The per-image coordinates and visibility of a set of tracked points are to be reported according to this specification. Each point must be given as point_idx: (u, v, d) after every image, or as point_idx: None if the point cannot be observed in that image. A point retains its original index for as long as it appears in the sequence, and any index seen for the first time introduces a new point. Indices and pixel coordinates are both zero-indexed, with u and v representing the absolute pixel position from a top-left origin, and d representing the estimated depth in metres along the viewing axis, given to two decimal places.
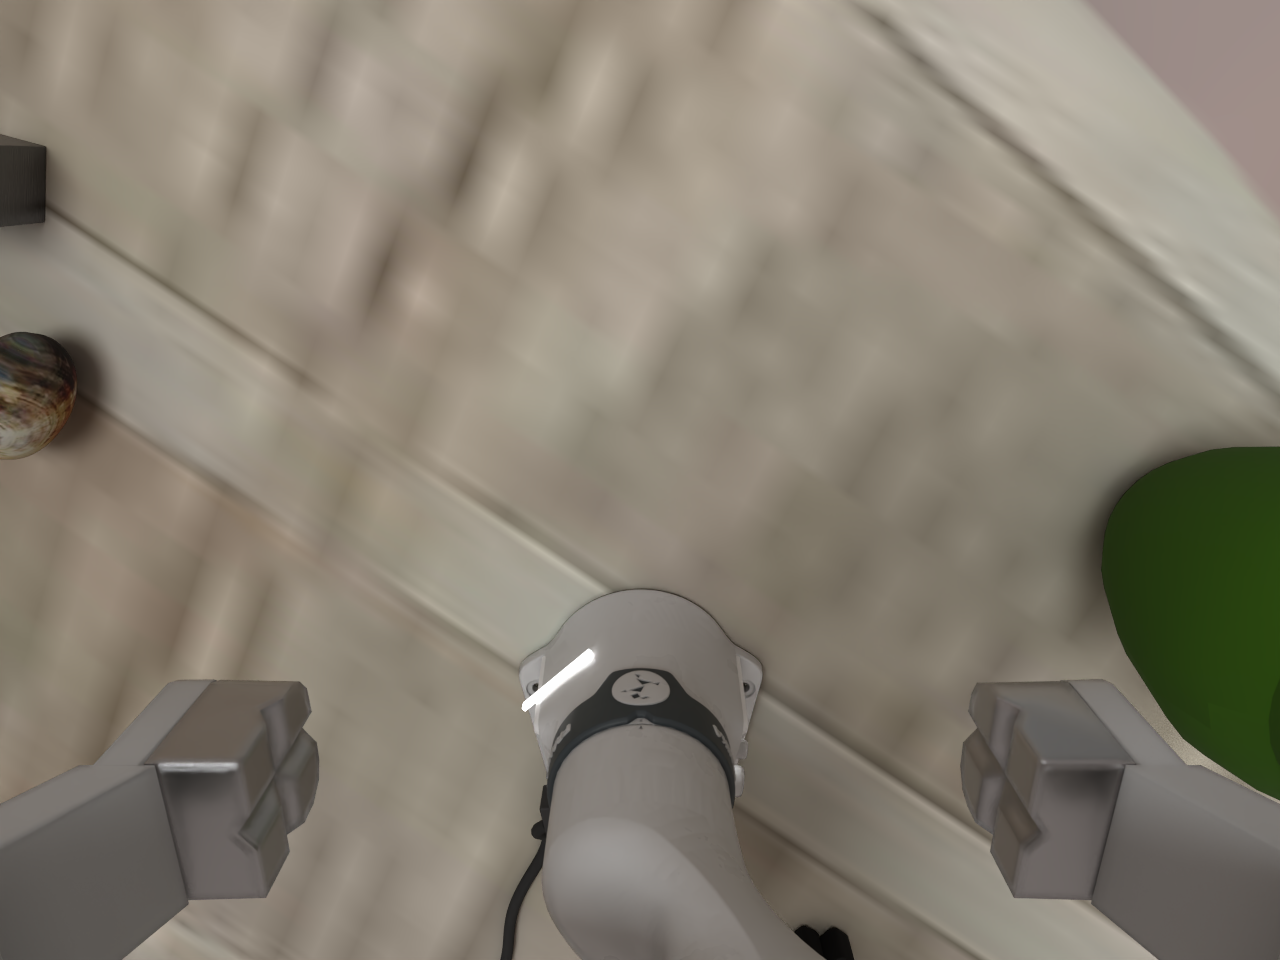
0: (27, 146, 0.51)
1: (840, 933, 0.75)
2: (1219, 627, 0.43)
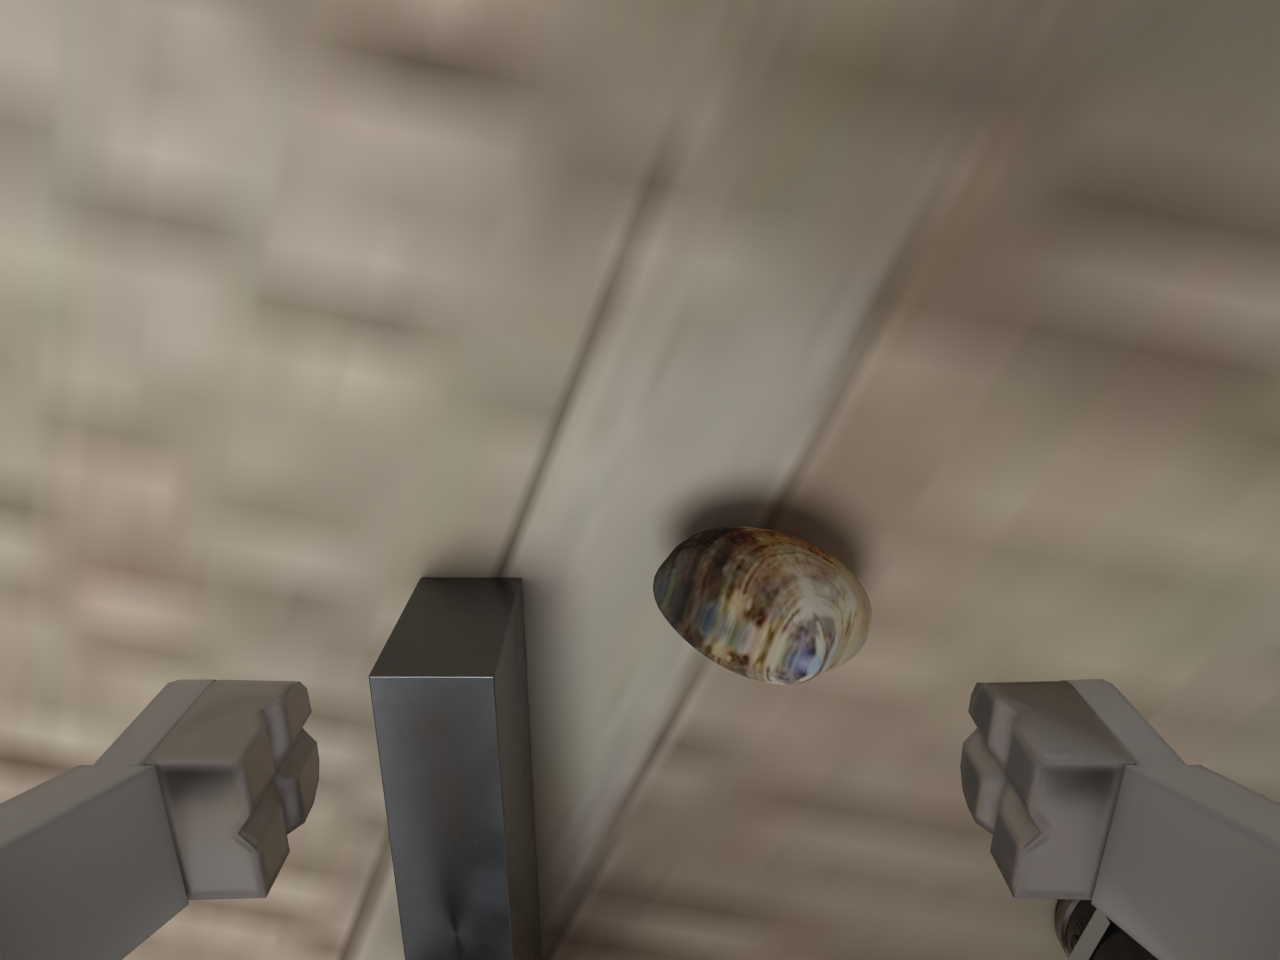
0: (412, 595, 0.38)
1: None
2: None
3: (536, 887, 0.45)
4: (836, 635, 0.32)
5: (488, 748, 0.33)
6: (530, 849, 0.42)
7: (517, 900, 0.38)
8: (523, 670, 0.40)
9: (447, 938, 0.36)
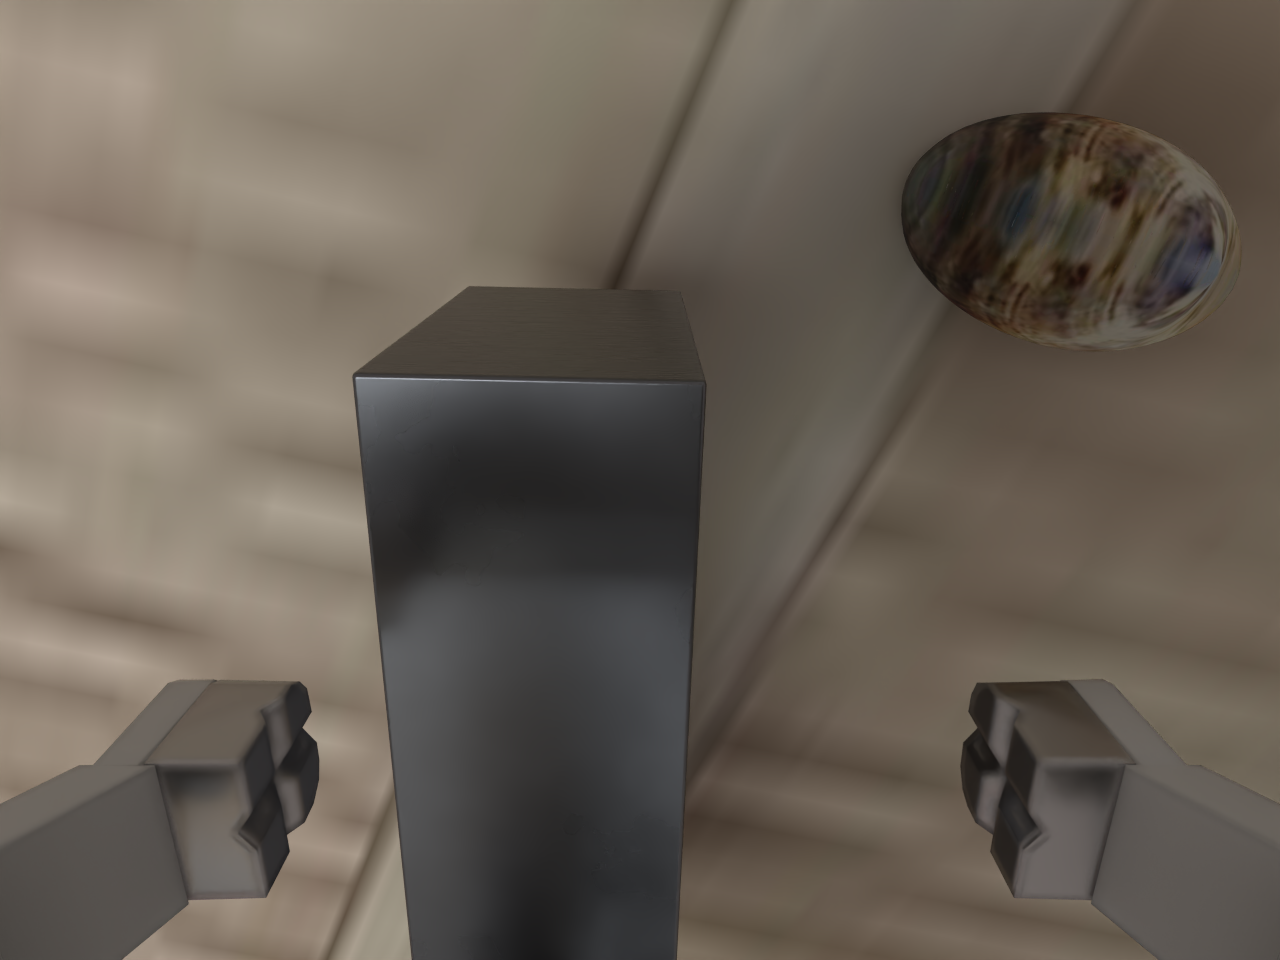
0: None
1: None
2: None
3: None
4: (1227, 240, 0.20)
5: (668, 599, 0.12)
6: None
7: None
8: None
9: None
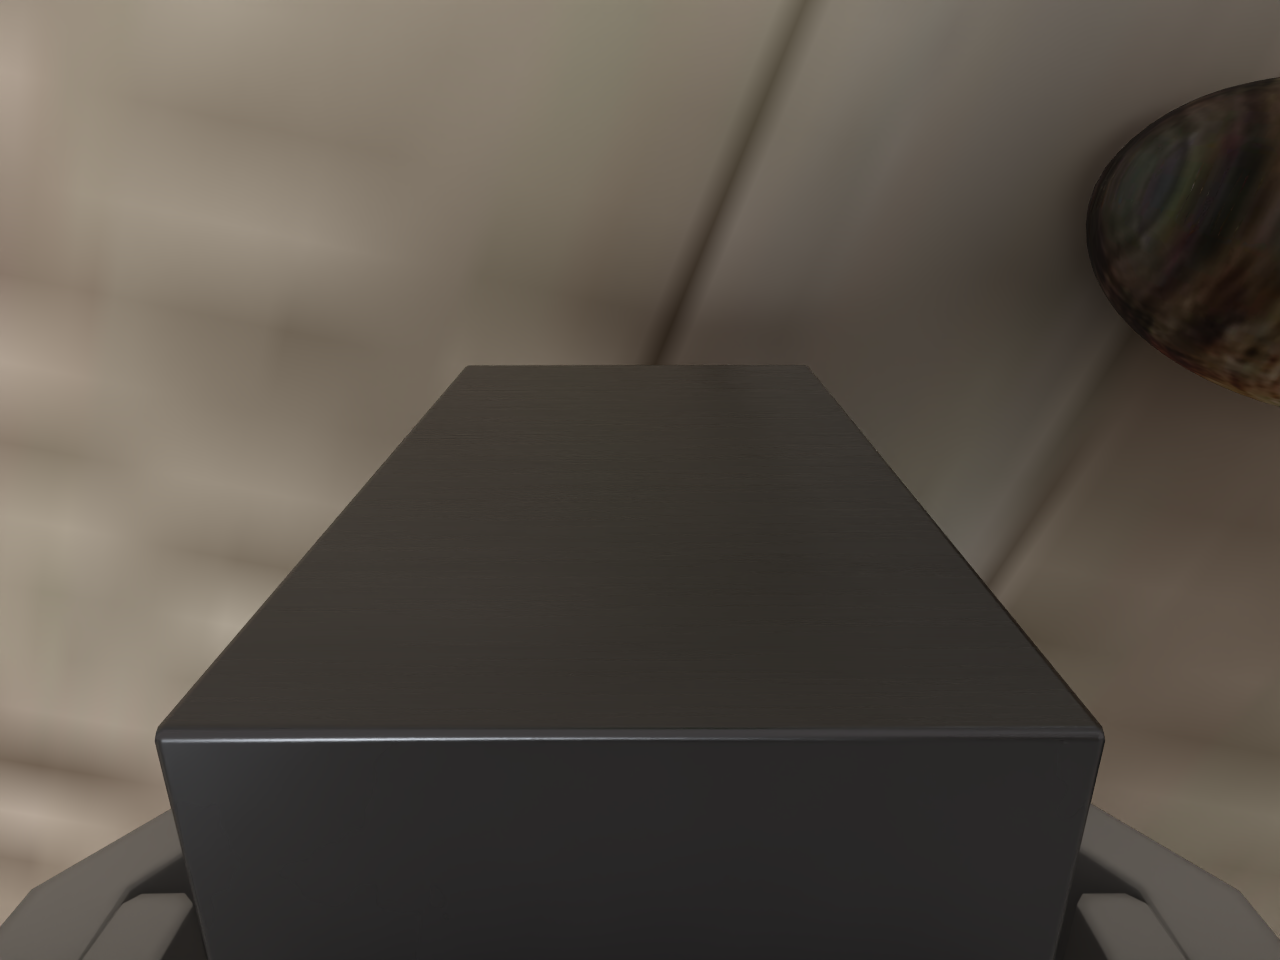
0: None
1: None
2: None
3: None
4: None
5: None
6: None
7: None
8: None
9: None
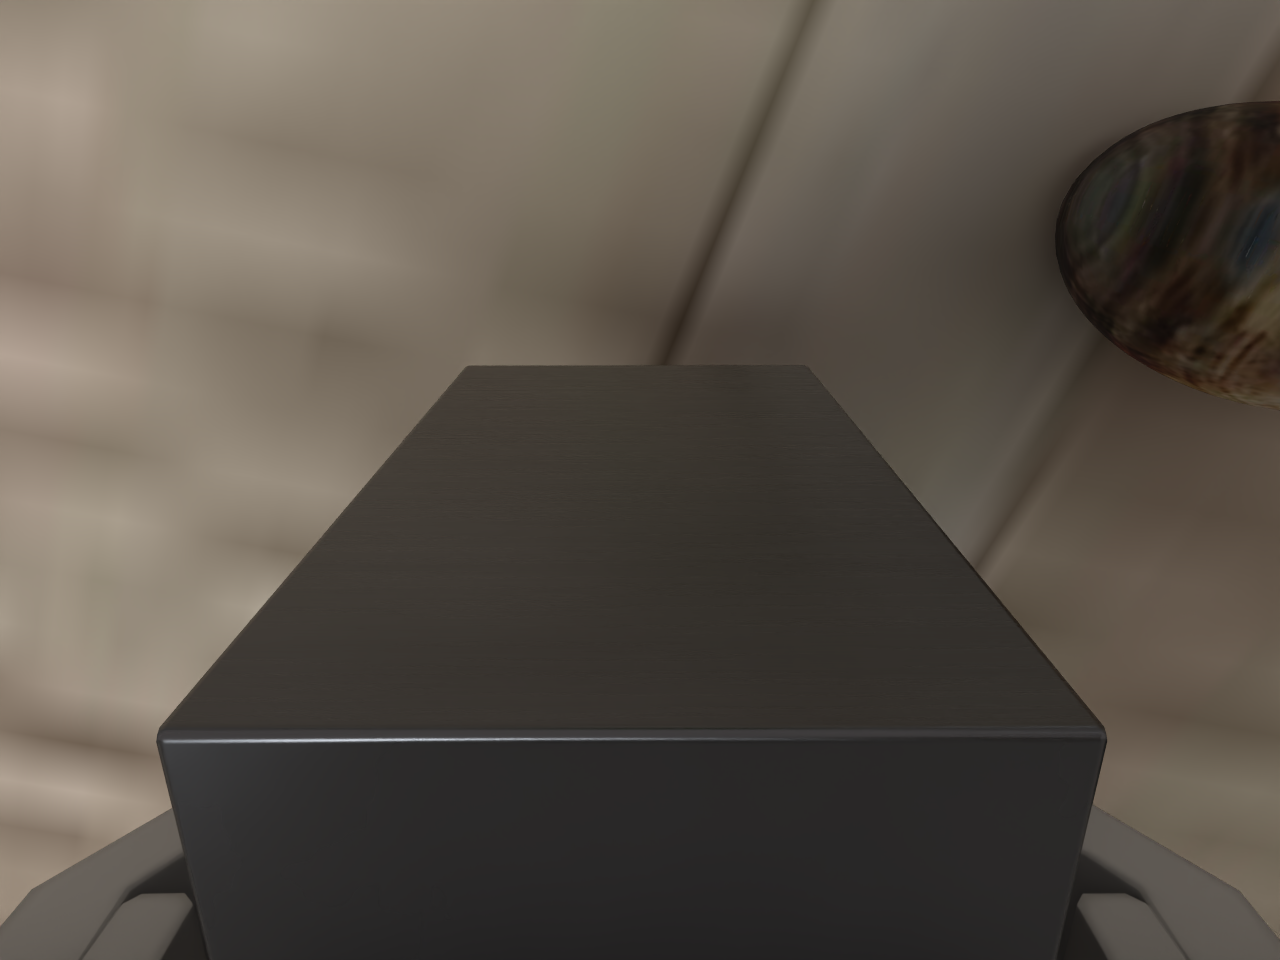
0: None
1: None
2: None
3: None
4: None
5: None
6: None
7: None
8: None
9: None
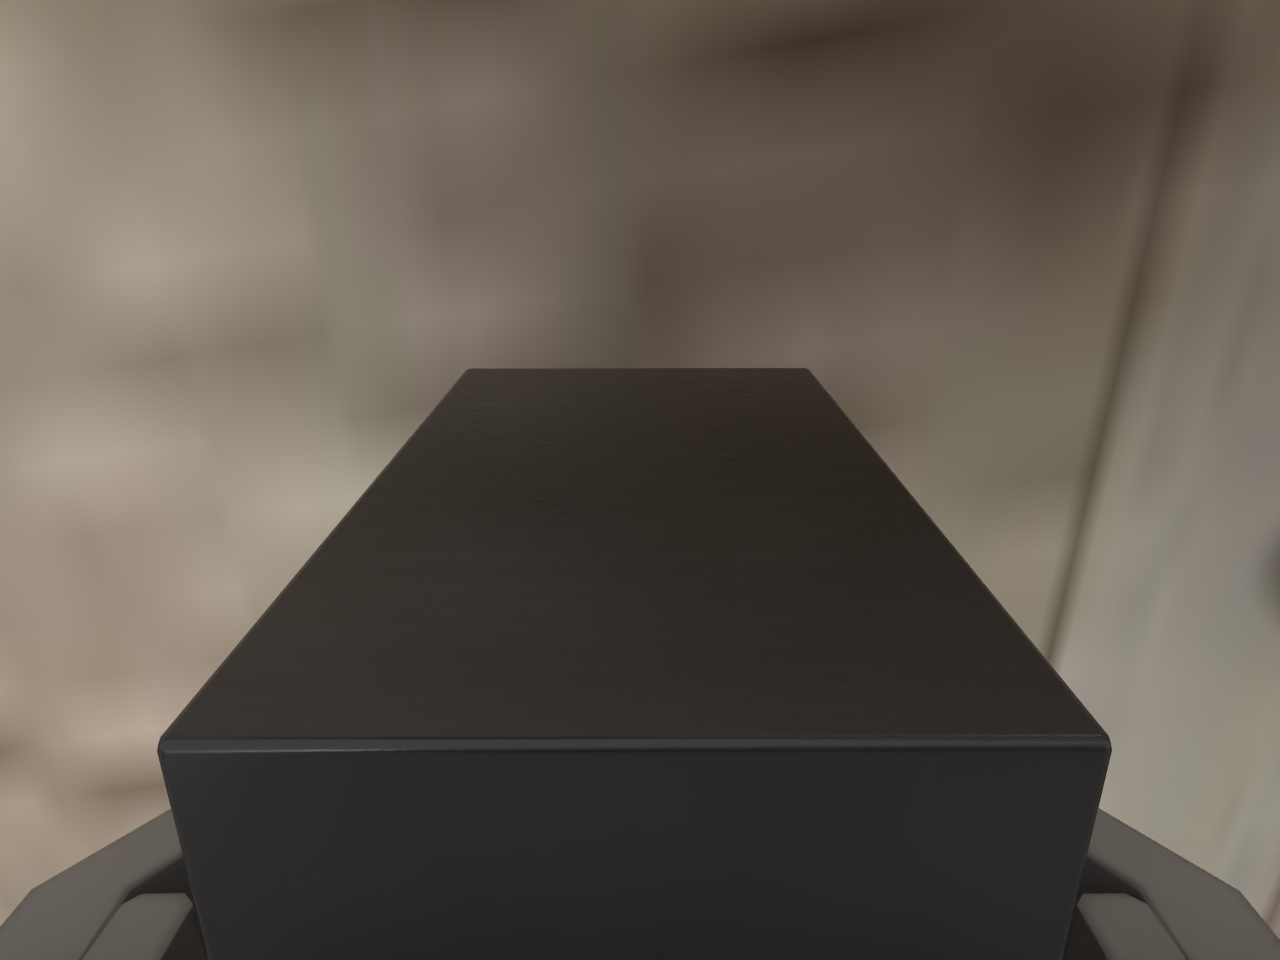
0: None
1: None
2: None
3: None
4: None
5: None
6: None
7: None
8: None
9: None
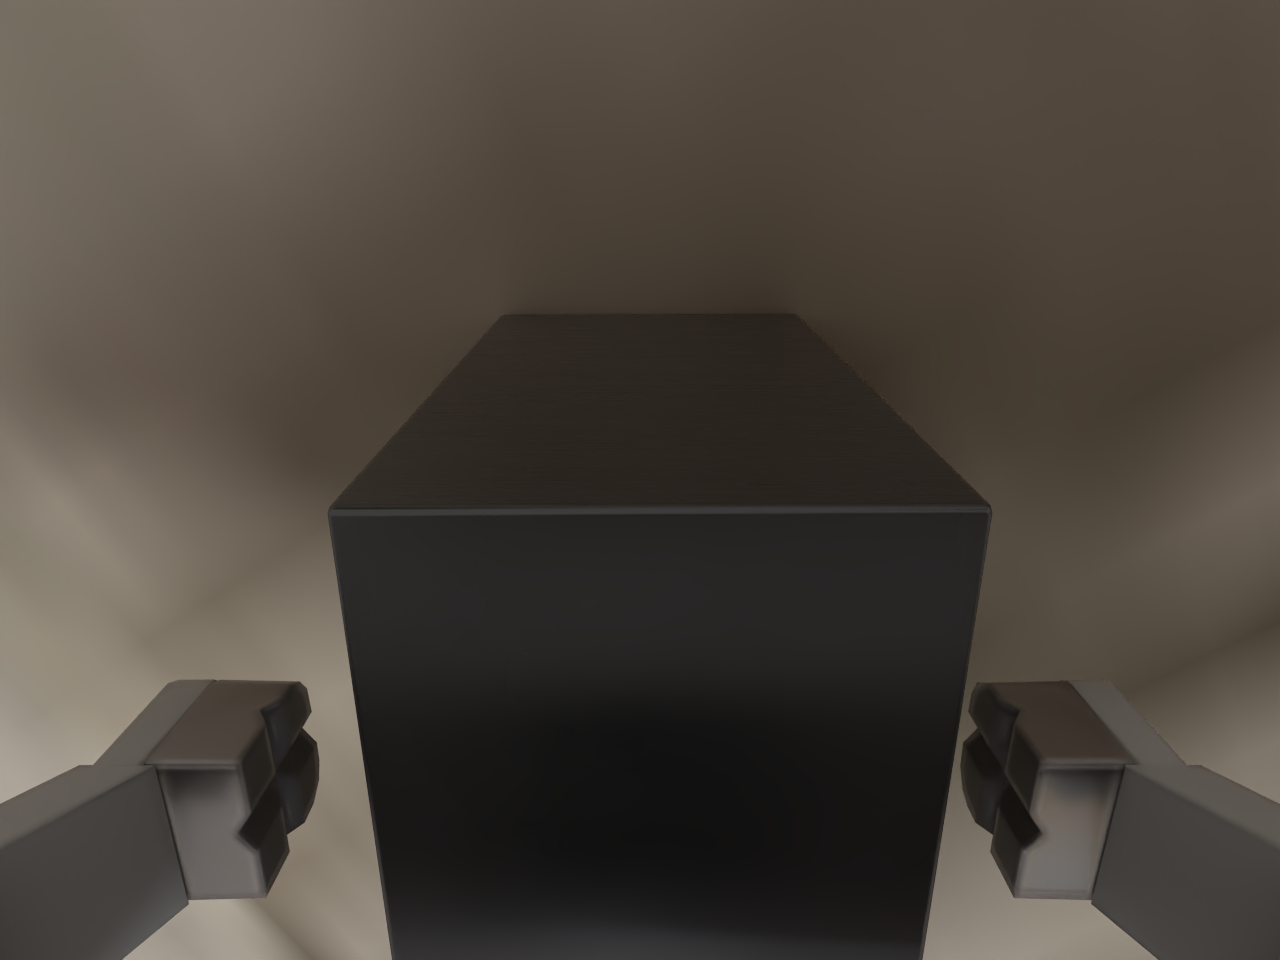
0: None
1: None
2: None
3: None
4: None
5: (892, 869, 0.07)
6: None
7: None
8: None
9: None
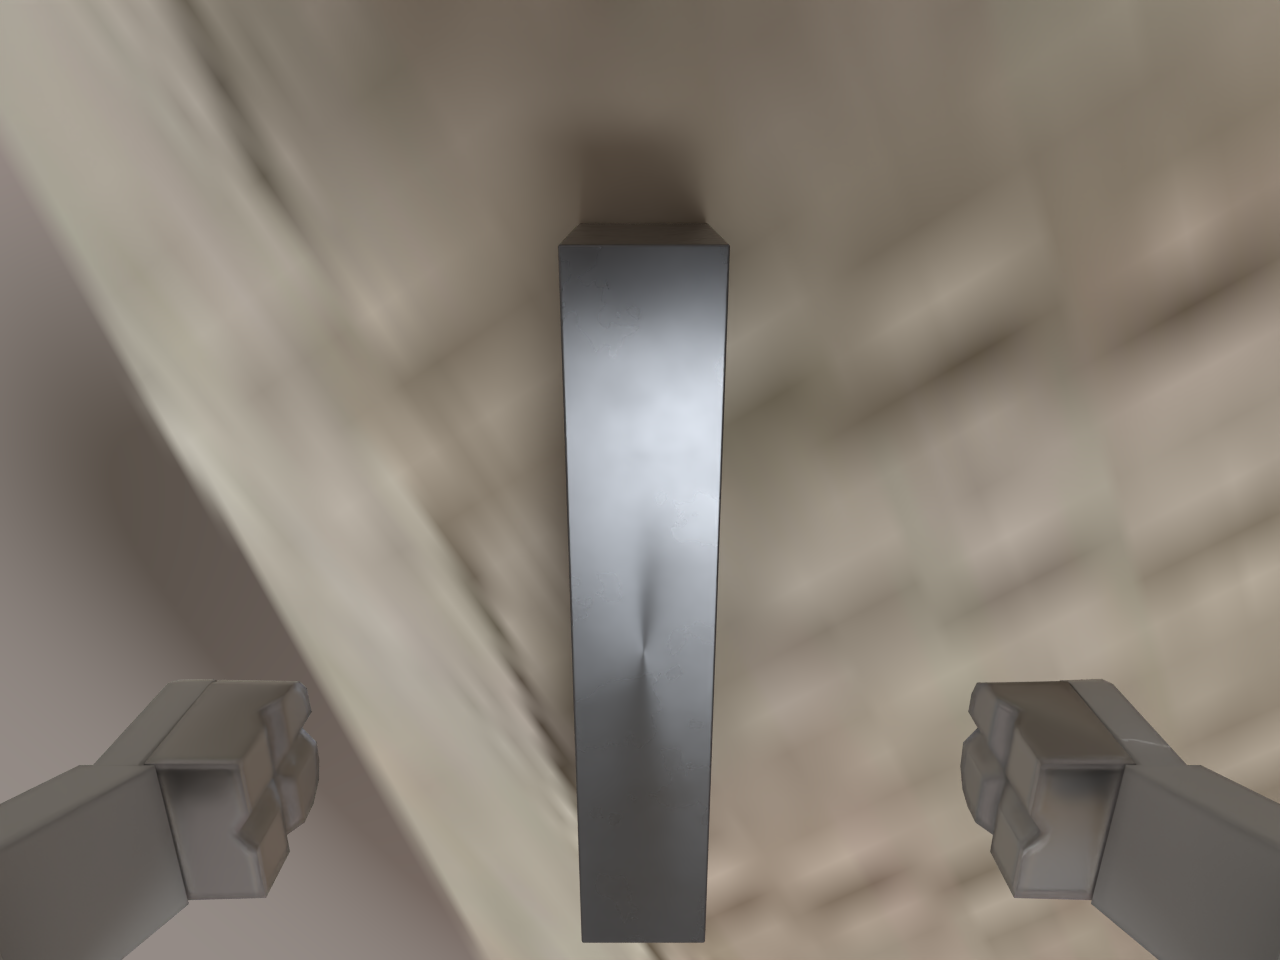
0: (576, 228, 0.29)
1: None
2: None
3: None
4: None
5: (712, 362, 0.24)
6: None
7: None
8: None
9: (631, 658, 0.28)
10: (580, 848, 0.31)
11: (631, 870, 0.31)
